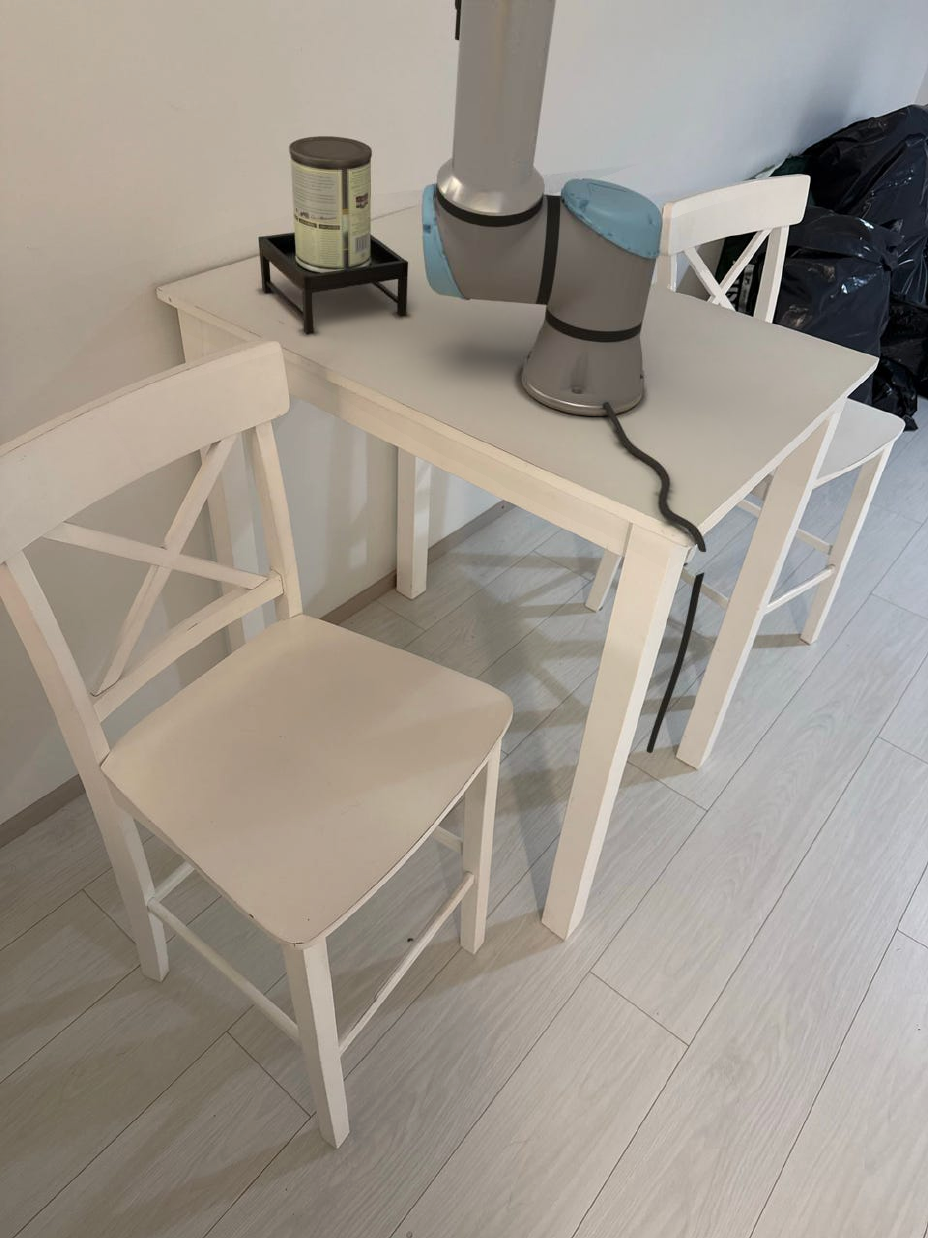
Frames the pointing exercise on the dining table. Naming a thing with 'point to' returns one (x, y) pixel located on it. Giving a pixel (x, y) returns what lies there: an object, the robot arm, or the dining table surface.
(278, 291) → the stand
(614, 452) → the dining table surface
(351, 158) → the coffee can
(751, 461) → the dining table surface
